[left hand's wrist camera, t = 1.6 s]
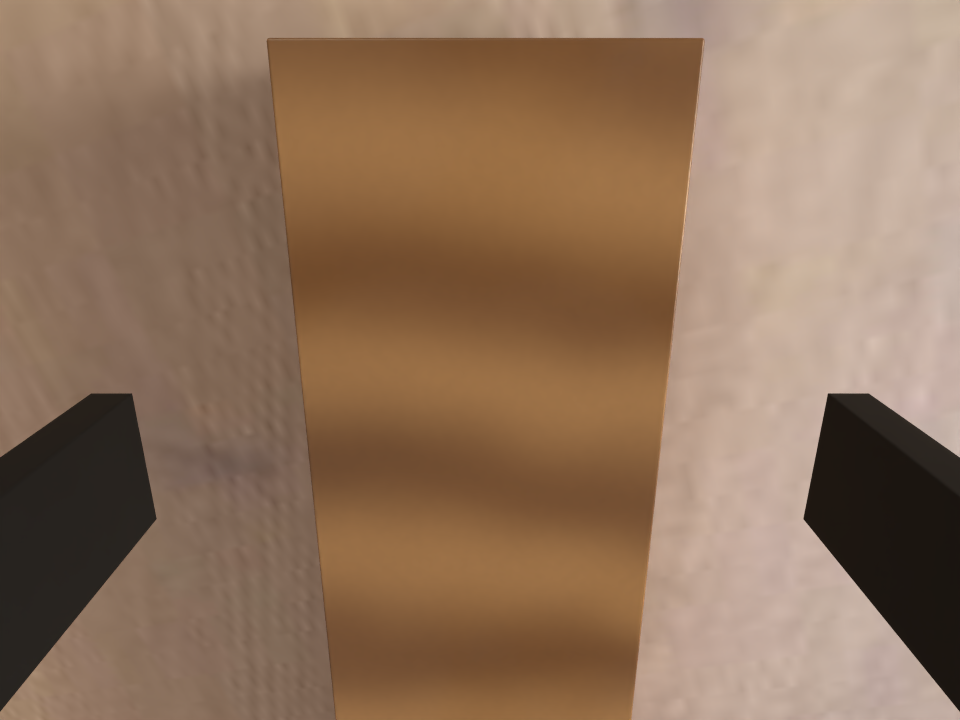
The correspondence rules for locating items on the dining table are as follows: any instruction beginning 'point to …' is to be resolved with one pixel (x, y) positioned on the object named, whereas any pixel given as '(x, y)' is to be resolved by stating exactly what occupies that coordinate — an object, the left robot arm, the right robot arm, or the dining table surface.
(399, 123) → the thick board
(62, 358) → the dining table surface
